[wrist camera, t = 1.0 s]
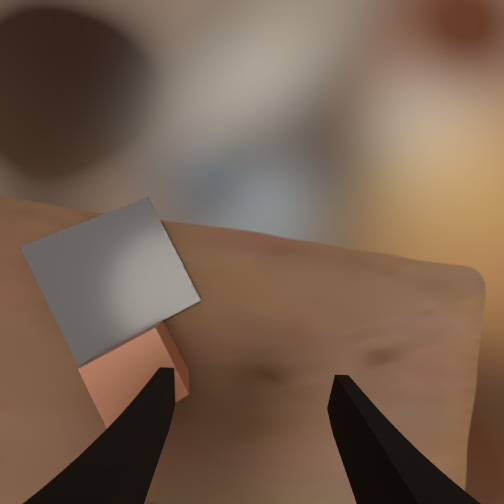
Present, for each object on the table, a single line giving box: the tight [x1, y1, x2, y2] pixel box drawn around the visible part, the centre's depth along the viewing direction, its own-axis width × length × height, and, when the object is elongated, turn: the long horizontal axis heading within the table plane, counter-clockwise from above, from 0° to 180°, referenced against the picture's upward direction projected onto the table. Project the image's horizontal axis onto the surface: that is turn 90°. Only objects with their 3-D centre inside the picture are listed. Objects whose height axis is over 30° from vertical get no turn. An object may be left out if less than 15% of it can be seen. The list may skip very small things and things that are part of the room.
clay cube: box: [78, 320, 189, 428], centre depth 19 cm, size 5×5×5 cm
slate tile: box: [20, 197, 200, 366], centre depth 21 cm, size 10×10×1 cm
